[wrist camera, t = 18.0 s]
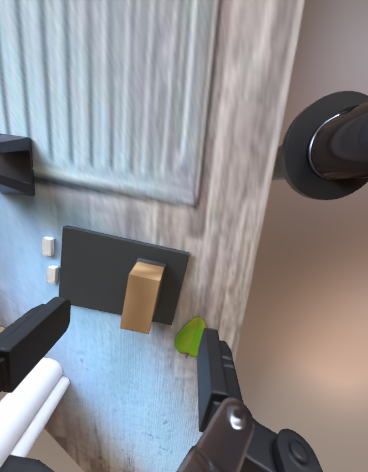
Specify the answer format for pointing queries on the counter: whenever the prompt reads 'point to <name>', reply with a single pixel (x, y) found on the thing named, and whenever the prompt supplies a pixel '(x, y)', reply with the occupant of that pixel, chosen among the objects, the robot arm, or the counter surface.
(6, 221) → the counter surface
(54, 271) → the small white block
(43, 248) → the small white block
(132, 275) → the eraser
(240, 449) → the robot arm
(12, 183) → the phone stand
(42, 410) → the vase
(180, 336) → the decorative leaf
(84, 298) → the memo board
